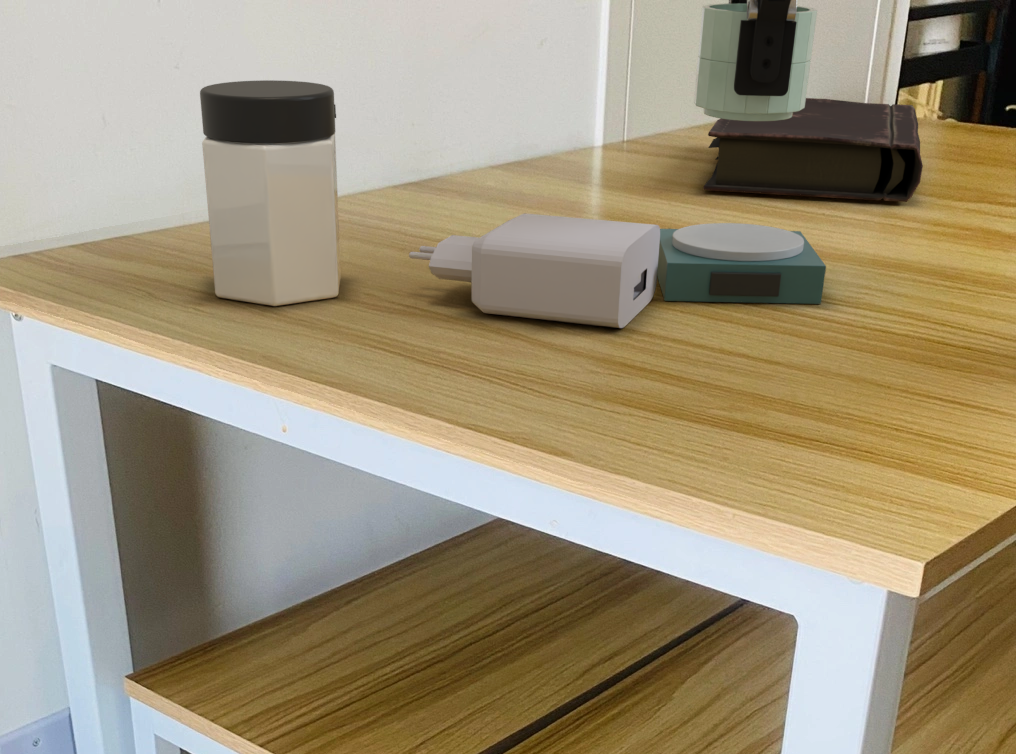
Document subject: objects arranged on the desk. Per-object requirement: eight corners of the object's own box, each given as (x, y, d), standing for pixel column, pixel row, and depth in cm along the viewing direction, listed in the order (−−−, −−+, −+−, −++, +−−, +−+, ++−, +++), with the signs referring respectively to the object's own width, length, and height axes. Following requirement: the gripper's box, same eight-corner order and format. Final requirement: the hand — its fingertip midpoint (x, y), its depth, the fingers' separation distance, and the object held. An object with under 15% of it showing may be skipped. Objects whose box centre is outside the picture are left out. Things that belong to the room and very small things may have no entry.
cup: (793, 107, 89) (806, 4, 86) (810, 124, 84) (825, 13, 80) (688, 105, 90) (698, 2, 86) (699, 121, 84) (709, 11, 81)
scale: (796, 266, 96) (801, 222, 95) (821, 305, 87) (828, 257, 86) (653, 263, 96) (656, 219, 95) (664, 302, 88) (668, 254, 86)
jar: (371, 283, 91) (365, 86, 85) (303, 312, 85) (291, 101, 78) (259, 267, 94) (245, 76, 88) (186, 294, 88) (166, 90, 82)
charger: (441, 274, 93) (656, 296, 89) (387, 308, 86) (618, 334, 81) (441, 201, 91) (662, 220, 86) (385, 229, 83) (623, 251, 79)
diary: (912, 157, 135) (921, 101, 132) (916, 206, 114) (927, 141, 112) (722, 147, 139) (727, 93, 136) (693, 193, 118) (698, 130, 116)
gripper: (892, -276, 69) (837, 108, 78) (830, -250, 84) (790, 71, 93) (742, -279, 69) (705, 105, 78) (707, -252, 84) (679, 68, 93)
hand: (752, 84), depth 86 cm, fingers closed on cup, 6 cm apart
